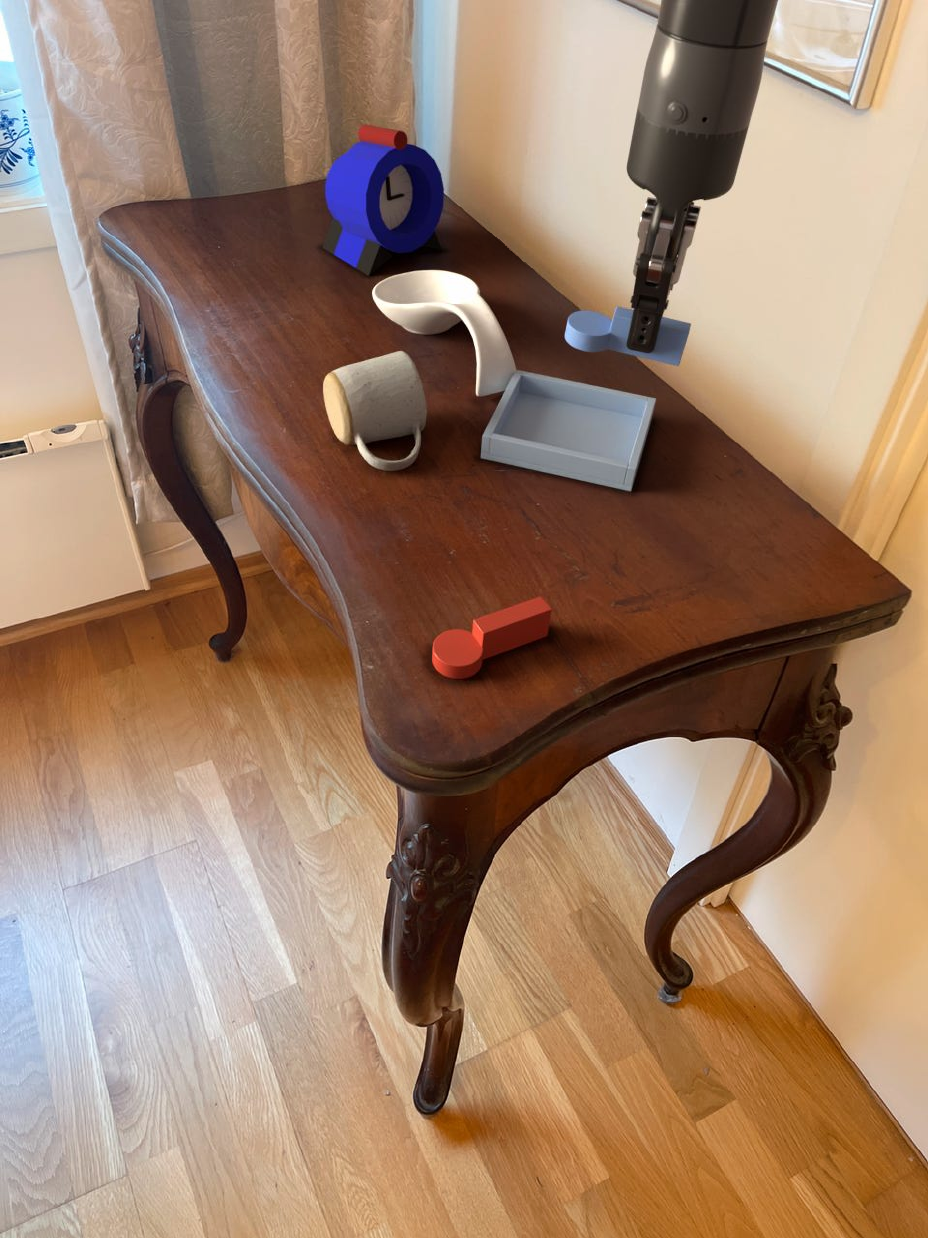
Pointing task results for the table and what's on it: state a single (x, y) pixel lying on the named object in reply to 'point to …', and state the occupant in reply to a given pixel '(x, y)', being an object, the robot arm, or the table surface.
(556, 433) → the blue tray
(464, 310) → the spoon rest
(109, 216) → the table surface
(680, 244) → the robot arm
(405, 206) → the alarm clock
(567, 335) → the blue spoon
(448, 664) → the red disc with bar
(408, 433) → the ceramic mug
